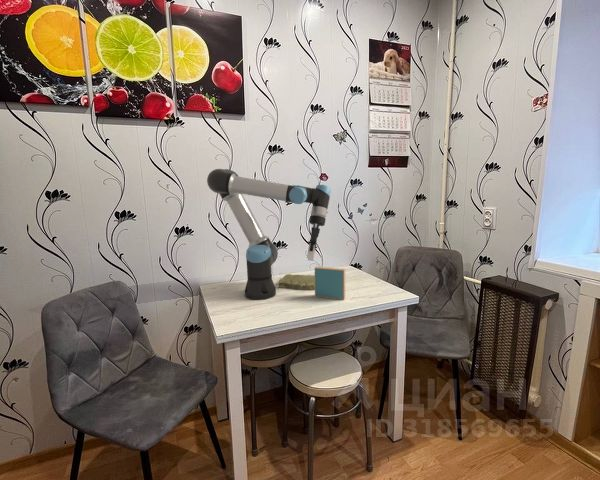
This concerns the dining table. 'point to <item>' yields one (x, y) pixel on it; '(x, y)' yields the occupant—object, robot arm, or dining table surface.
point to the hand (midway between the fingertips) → (309, 259)
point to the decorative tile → (298, 282)
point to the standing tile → (330, 283)
